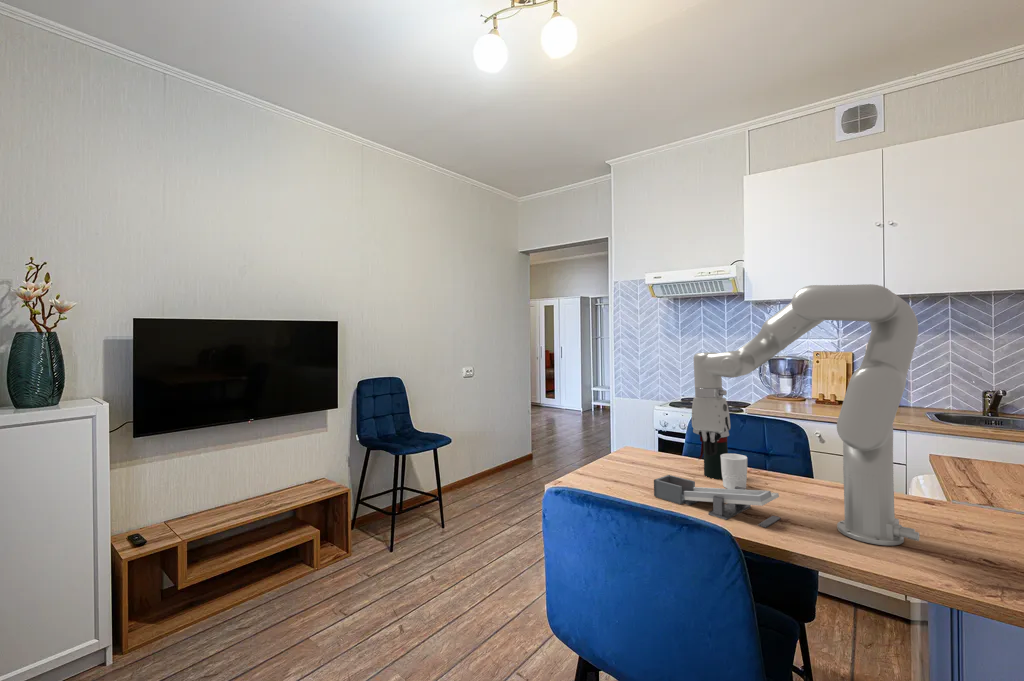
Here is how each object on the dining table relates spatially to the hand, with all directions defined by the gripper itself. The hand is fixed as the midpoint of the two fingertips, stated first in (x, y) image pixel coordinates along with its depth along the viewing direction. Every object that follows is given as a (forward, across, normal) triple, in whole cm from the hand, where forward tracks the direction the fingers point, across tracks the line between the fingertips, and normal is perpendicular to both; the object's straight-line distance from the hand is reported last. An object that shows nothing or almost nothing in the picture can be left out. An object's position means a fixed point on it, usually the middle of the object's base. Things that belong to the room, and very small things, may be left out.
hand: (711, 454), depth 133 cm
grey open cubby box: (+13, +9, +6) cm, 17 cm away
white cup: (+14, +2, -17) cm, 22 cm away
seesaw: (+10, -7, +4) cm, 13 cm away
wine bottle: (+14, +13, -24) cm, 30 cm away
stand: (+14, -7, +4) cm, 16 cm away
